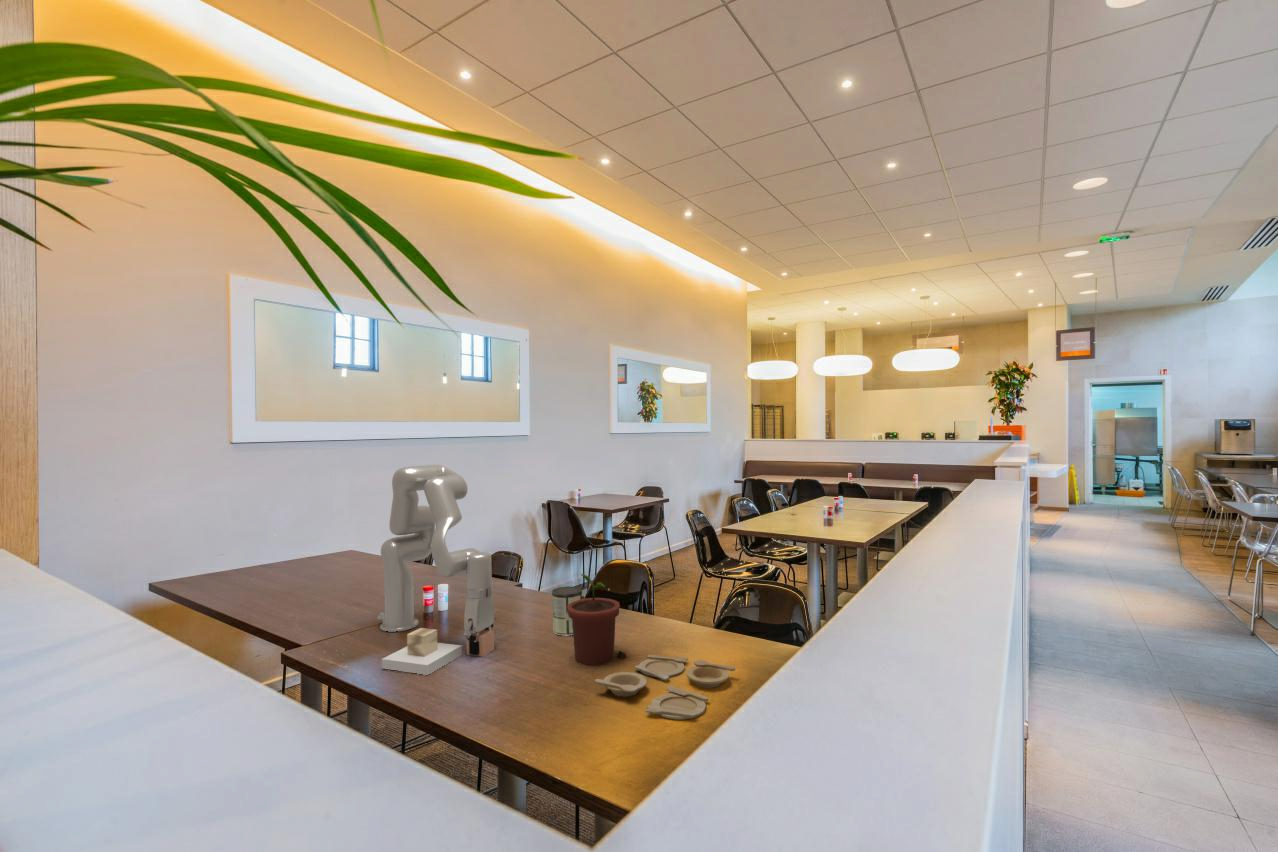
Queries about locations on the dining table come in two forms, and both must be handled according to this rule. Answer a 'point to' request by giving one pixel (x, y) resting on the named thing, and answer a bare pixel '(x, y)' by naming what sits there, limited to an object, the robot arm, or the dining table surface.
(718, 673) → the tableware set
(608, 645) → the potted plant
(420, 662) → the grey base board
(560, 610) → the coffee can
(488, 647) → the terracotta cube
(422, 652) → the brass cube
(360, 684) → the dining table surface
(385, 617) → the robot arm
